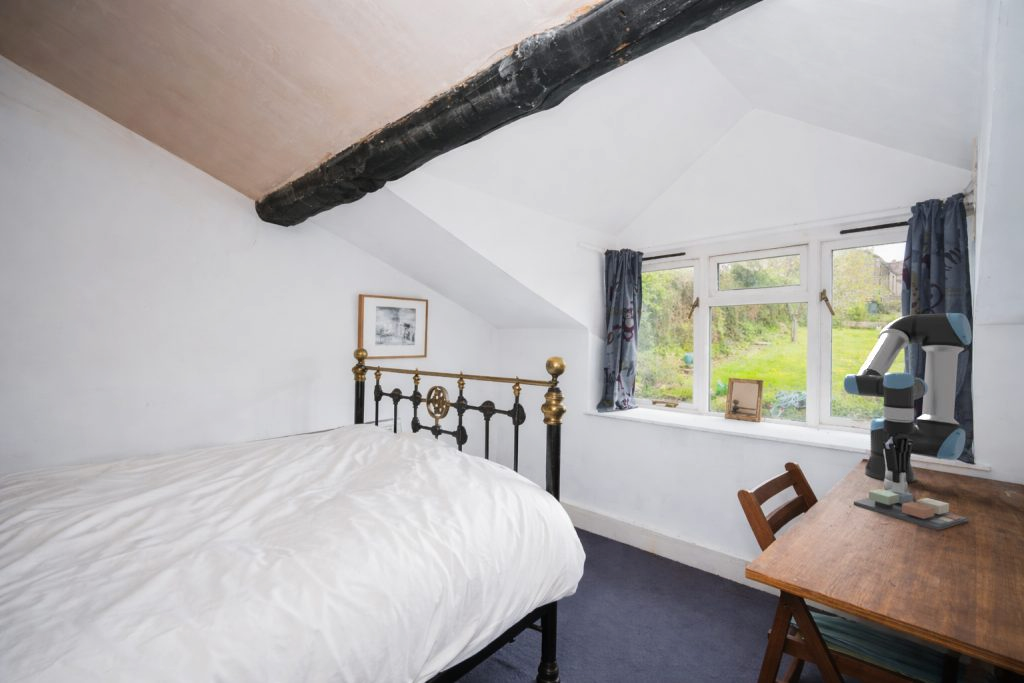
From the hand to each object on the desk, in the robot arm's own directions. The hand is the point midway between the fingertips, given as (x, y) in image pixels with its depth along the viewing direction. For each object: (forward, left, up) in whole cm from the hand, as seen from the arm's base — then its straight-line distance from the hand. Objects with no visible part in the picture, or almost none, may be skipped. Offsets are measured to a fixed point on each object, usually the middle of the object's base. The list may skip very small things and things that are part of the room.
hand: (898, 492), depth 148 cm
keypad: (+4, +4, -5) cm, 7 cm away
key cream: (0, +9, -3) cm, 9 cm away
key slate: (0, 0, -3) cm, 3 cm away
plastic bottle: (-13, -7, -5) cm, 15 cm away
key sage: (+8, 0, -2) cm, 8 cm away
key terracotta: (+8, +9, -3) cm, 12 cm away
